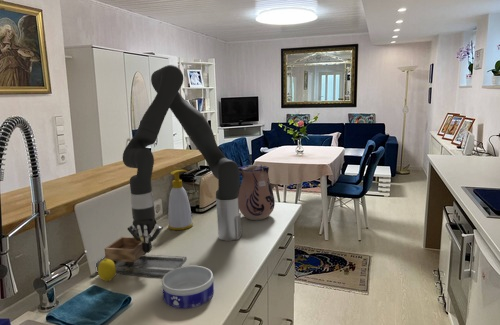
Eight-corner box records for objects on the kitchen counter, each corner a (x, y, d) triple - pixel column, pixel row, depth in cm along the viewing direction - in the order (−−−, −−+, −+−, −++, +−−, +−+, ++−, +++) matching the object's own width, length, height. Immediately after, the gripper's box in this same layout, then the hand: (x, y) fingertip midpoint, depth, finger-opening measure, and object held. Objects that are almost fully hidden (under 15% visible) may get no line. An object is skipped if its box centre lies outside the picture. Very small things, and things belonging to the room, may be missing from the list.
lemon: (102, 277, 126) (99, 255, 124) (119, 276, 126) (116, 254, 125) (97, 286, 120) (94, 263, 119) (114, 284, 121) (111, 261, 119)
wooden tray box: (150, 253, 138) (148, 237, 137) (135, 267, 128) (133, 250, 127) (123, 252, 141) (121, 236, 140) (106, 265, 130) (104, 248, 129)
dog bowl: (221, 285, 118) (220, 267, 117) (201, 312, 104) (200, 292, 102) (178, 280, 122) (176, 263, 121) (153, 306, 108) (151, 286, 107)
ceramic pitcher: (276, 222, 171) (274, 169, 166) (230, 224, 172) (227, 171, 167) (274, 211, 188) (272, 162, 184) (232, 212, 189) (229, 164, 184)
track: (186, 259, 137) (185, 250, 137) (170, 277, 124) (169, 268, 123) (118, 255, 143) (117, 247, 143) (96, 272, 130) (95, 263, 129)
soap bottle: (197, 226, 171) (193, 170, 166) (174, 232, 165) (169, 174, 160) (187, 220, 180) (183, 167, 175) (164, 225, 174) (159, 170, 169)
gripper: (165, 202, 131) (169, 248, 134) (130, 201, 134) (135, 246, 137) (155, 208, 124) (160, 257, 127) (119, 207, 126) (124, 255, 130)
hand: (147, 251), depth 132 cm, fingers closed
